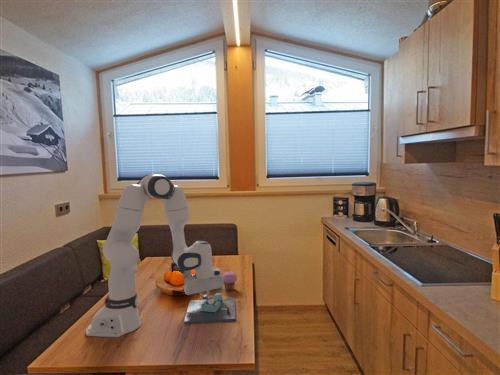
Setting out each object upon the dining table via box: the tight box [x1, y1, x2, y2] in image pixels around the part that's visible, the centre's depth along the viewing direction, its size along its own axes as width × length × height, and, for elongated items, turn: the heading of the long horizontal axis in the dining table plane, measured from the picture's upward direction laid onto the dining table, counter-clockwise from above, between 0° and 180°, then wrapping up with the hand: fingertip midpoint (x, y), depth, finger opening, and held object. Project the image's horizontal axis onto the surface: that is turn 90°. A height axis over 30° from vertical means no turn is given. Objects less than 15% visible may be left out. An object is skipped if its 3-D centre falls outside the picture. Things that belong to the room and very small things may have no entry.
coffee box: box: [170, 261, 192, 285], centre depth 183 cm, size 9×6×16 cm
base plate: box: [183, 297, 237, 325], centre depth 157 cm, size 23×22×6 cm
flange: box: [201, 292, 223, 312], centre depth 160 cm, size 14×7×3 cm, turn 164°
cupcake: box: [221, 271, 238, 292], centre depth 183 cm, size 9×9×10 cm
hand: (204, 299), depth 165 cm, fingers closed
